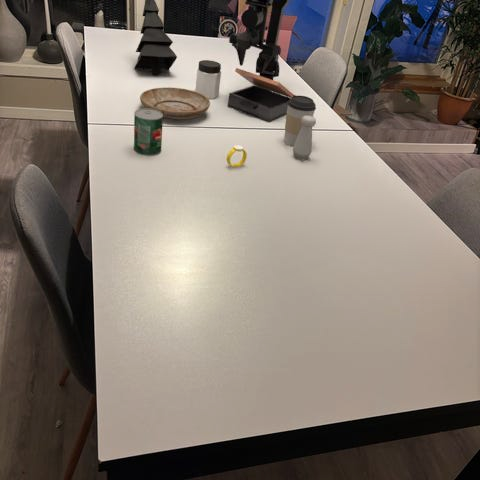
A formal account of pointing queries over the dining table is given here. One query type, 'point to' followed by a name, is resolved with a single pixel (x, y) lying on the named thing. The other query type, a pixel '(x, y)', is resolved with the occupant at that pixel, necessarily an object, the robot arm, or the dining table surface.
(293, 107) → the coffee cup
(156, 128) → the canned tomato
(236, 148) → the gold ring
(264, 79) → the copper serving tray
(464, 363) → the dining table surface
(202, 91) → the jar
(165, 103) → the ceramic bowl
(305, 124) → the salt shaker
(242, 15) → the robot arm
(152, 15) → the decorative tree
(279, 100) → the dark grey flat box
